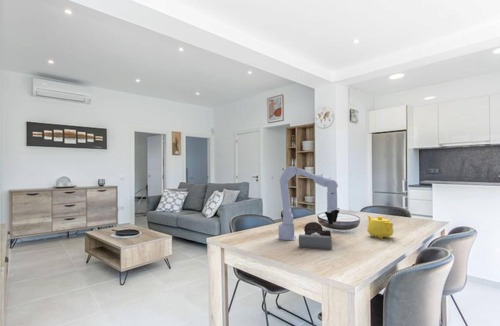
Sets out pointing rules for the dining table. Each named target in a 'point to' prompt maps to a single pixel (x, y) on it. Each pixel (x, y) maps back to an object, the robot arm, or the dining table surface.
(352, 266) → the dining table surface
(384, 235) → the teapot
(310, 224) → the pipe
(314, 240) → the block
